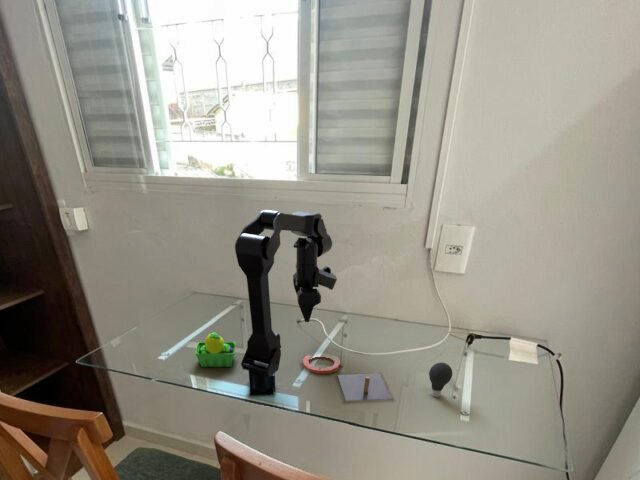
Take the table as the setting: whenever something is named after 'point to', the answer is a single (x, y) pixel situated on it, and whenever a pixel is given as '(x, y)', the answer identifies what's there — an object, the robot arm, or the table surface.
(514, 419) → the table surface
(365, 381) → the peg stand
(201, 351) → the fruit basket
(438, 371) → the light bulb
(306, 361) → the ring
